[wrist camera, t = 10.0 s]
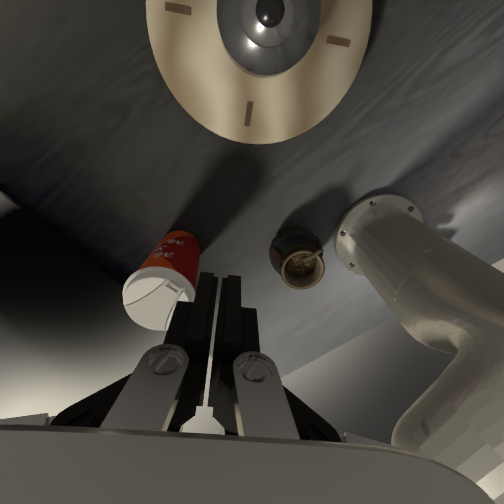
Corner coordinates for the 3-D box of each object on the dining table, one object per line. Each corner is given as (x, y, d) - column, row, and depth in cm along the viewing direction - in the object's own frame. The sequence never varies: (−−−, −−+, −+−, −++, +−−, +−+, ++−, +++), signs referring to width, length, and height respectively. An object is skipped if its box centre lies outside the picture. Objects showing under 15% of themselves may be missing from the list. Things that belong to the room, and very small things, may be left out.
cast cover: (322, -22, 28) (338, -47, 23) (297, 86, 32) (307, 83, 27) (226, -48, 27) (224, -81, 22) (213, 67, 31) (208, 60, 26)
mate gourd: (262, 262, 45) (268, 300, 36) (274, 215, 42) (283, 243, 33) (308, 270, 46) (325, 308, 37) (323, 224, 42) (345, 254, 33)
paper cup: (174, 212, 41) (145, 258, 28) (218, 245, 43) (209, 301, 31) (142, 251, 43) (103, 310, 31) (186, 280, 46) (166, 346, 33)
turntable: (395, -90, 27) (407, -105, 26) (332, 155, 37) (337, 158, 35) (152, -152, 25) (145, -173, 23) (150, 126, 35) (145, 127, 33)
